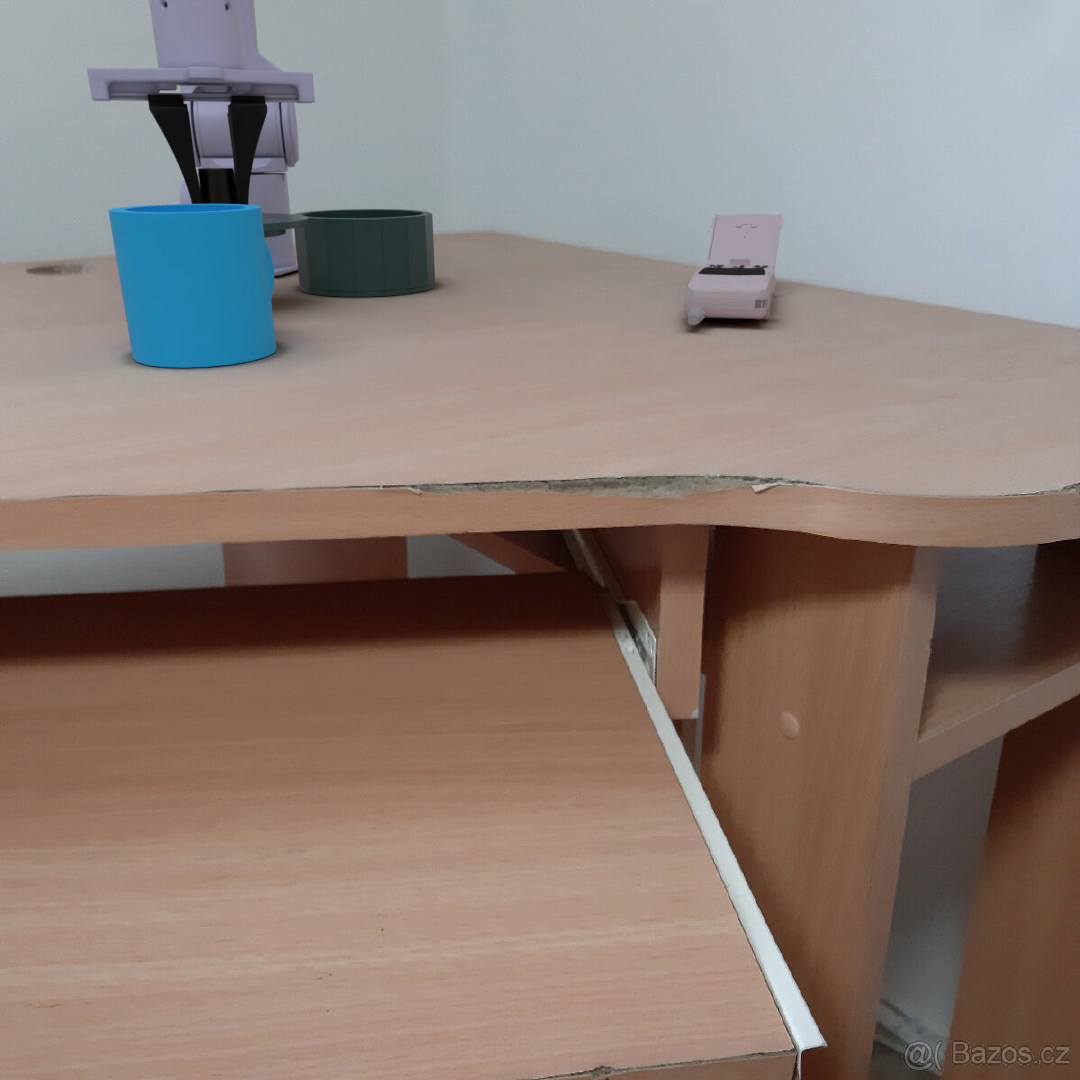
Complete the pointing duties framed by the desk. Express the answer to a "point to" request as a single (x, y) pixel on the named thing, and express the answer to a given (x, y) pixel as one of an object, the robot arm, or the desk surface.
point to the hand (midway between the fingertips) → (220, 212)
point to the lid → (222, 190)
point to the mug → (195, 283)
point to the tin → (365, 252)
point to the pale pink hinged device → (736, 269)
